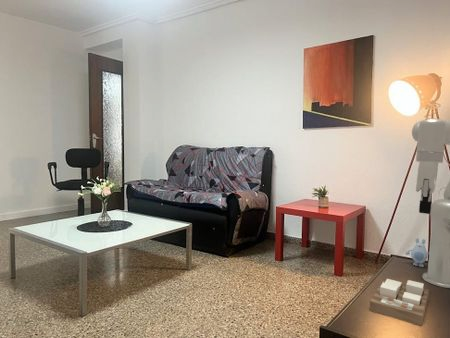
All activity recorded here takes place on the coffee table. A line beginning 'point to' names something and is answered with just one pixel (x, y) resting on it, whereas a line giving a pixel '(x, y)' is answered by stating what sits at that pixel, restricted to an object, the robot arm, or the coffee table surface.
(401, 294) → the button board
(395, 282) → the button
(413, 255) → the toy figure
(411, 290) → the button
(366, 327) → the coffee table surface
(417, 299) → the button
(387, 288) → the button
